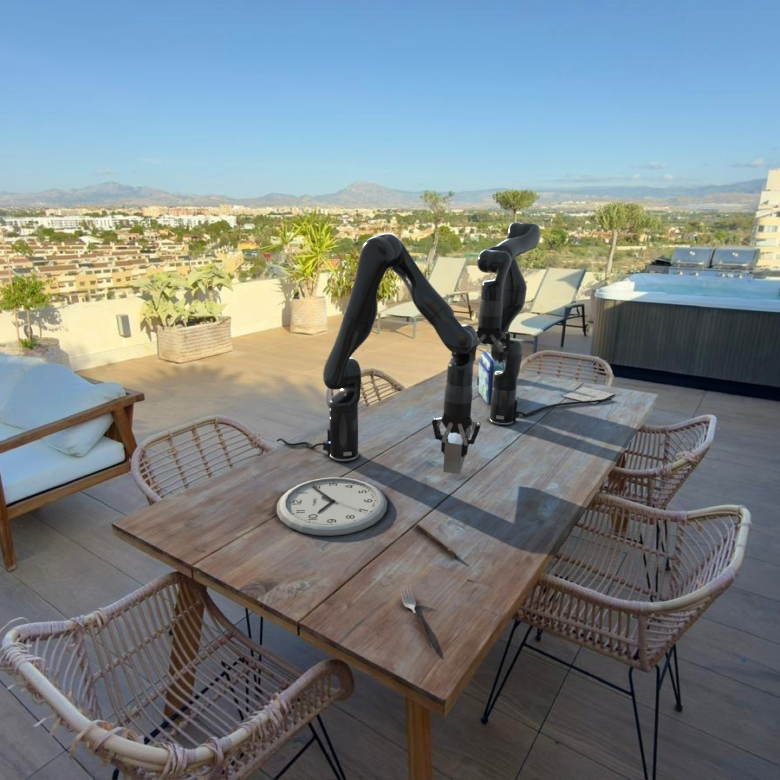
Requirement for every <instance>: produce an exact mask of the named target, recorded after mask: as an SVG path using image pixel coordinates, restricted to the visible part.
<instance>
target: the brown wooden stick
mask: <svg viewBox="0 0 780 780" xmlns="http://www.w3.org/2000/svg"><path fill="white" fill-rule="evenodd" d="M415 528H416V529H417V530H418V531H419V532H420V533H422V534H423V535H425V536H426V537H427V538H428V539H430V540H431V541H432V542H434V543H435V544H436V545H437V546H439V547H440V548H441V549H442V550H444V551H445V552H446V553H447V554H449V556H451V557H453V559H456V557H457V554H456V552H454V551H453V550H452V549H450V548H449V547H448V546H446V545H445V544H444V543H442V541H440V540H439V539H437V538H436V537H435V536H434V535H433V534H431V532H428V531H427V530H426V529H425V528H423V527H422V526H421V525H420V524H416V527H415Z"/></svg>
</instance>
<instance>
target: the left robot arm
mask: <svg viewBox="0 0 780 780" xmlns="http://www.w3.org/2000/svg"><path fill="white" fill-rule="evenodd" d="M388 270H391V271H393V272H394V273H395V274H396V275H397V276H398V278H400V280H401V281H402V282H403V284H404V285H405V287H406V289H407V291H408V293H409V296H410V299H411V300H412V303H413V305H414V307H415V308H416V310H417V311H418V312H419V313H420V315H422V316H423V318H425V320H426V321H427V322H428V324H430V326H432V327H433V329H434V331H435V332H436V334H437V335H438V337H439V339H440V340H441V343H443V345H444V346H445V347H446V349H448V350H449V352H451V355H450V360H449V362H448V364H447V369H446V378H445V380H446V382H445V387H444V399H443V414H442V416H441V417H437V416H434V417H433V418H432V420H431V424H432V429H433V433H434V438H435V440H437V441H438V440H439V441H440V442H441V444H440V445H441V448H440V451H441V453H442V454H443V455H444V454H445V442H446V440H447V437H448V435H449V433H457V434H460V435H461V438H462V441H463V446H462V457H464V456H465V455H466V456H467V455H468V451H469V450H468V449H469V446H470V445H475V442H476V439H477V437H478V434H479V432H480V429H481V427H482V423H481V422H476V421H473V420H472V419H471V417H472V416H471V415H472V403H473V379H474V378H473V377H474V364H475V361H474V359H475V355H476V354H477V349H478V346H477V342H478V339H479V338H478V337H477V333H476V331H477V330H476V329H475V328H474V327H473V326H472V325H470V324H461V323H460V322H459V320H458V319H457V318H456V316H455V311H454V309H453V308H452V306H451V305H449V303H448V302H447V301H446V300H445V299H444V297H443V296H442V295H441V294H440V293H439V292H438V291H437V290H436V288H434V287H433V285H432V283H430V281H429V280H428V278H427V277H426V276H425V275H424V273H423V271H421V269H420V268H419V266H418V264H417V263H416V262H415V260H414V258H413V257H412V256H411V254H410V252H409V251H408V249H407V248H406V246H405V245H404V244H403V242H402V241H401V239H400V238H399V237H398V236H397V235H395V234H393V233H391V232H387V233H382V234H379V235H375V236H372V237H370V238H368V239H367V240H366V241H365V242H364V243H363V245H362V246H361V249H360V254H359V258H358V263H357V268H356V272H355V277H354V282H353V285H352V288H351V290H350V293H349V298H348V300H347V304H346V305H345V309H344V312H343V314H342V319H341V322H340V325H339V329H338V332H337V335H336V337H335V340H334V343H333V345H332V348H331V350H330V353H329V354H328V356H327V359H326V360H325V364H324V366H323V371H322V377H323V378H322V380H323V383H324V385H325V387H326V388H327V389H329V390H334V391H335V390H338V392H336V393H335V394H334V395H333V396H331V398H330V399H329V402H328V410H329V411H328V412H329V427H328V429H327V440H325V441H323V442H318V443H315V444H314V445H312V446H311V444H310V443H309V442H307V441H300V442H296V443H291V442H288V441H286V440H285V439H284V438H277V439H276V442H279V441H281V442H283V443H284V444H285V445H287V446H290V447H294V446H295V447H296V446H299V445H300V446H301V445H307V446H308V448H309V449H314V448H316V447H319V446H322V450H323V451H325V452H327V457H329V458H330V460H332V461H334V462H338V463H350V462H353V461H356V460H357V459H358V458H359V403H360V399H361V389H362V387H361V386H362V369H361V366H360V363H359V362H358V360H357V359H355V358H354V357H352V355H353V354H354V353H355V352H356V351H357V350H358V348H359V347H361V345H363V343H364V342H365V341H366V340H367V339H368V338H369V336H370V335H371V333H372V331H373V328H374V326H375V323H376V319H377V318H378V317H377V316H378V310H379V306H378V304H379V303H378V290H379V287H380V285H381V282H382V280H383V278H384V276H385V274H386V272H387V271H388ZM476 356H477V355H476ZM475 360H476V359H475ZM441 423H442V425H443V426H444V428H445V431H444V433H443V434H442V432H441V427H440V425H441ZM470 425H471V431H473V432H472V435H471V436H470V438H468V436H467V428H468V427H469V426H470ZM468 445H469V446H468ZM466 456H465V457H466Z"/></svg>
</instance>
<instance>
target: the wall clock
mask: <svg viewBox="0 0 780 780" xmlns="http://www.w3.org/2000/svg"><path fill="white" fill-rule="evenodd" d="M387 509H388V500H387V498H386V496H385V494H384V493H383V492H382V491H381V490H380V489H379V488H377V487H376V486H374V485H372V484H371V483H369V482H365V481H362V480H359V479H355V478H349V477H338V476H337V477H335V476H333V477H332V476H331V477H322V478H317V479H312V480H307V481H305V482H302V483H299V484H297V485H295V486H293V487H292V488H290V489H288V490H287V491H286V492H285V493H284V494H283V495H281V496H280V498H279V499H278V502H277V503H276V515H277V517H278V518H279V520H280V521H281V522H282V523H283V524H285V525H286V526H287V527H288V528H290V529H293V530H295V531H297V532H299V533H303V534H308V535H312V536H327V537H328V536H329V537H331V536H332V537H333V536H342V535H350V534H352V533H356V532H361V531H363V530H366V529H368V528H369V527H372V526H373V525H375V524H376V523H378V522H379V521H380V520H381V519H382V518H383V517H384V516H385V514H386V512H387Z"/></svg>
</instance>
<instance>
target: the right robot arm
mask: <svg viewBox="0 0 780 780" xmlns="http://www.w3.org/2000/svg"><path fill="white" fill-rule="evenodd" d="M540 240H541V227H540V226H539V224H537V223H531V222H512V223H511V224H510V225H509V227H508V230H507V235H506V239H505V240H503V241H501V242H499V243H498V244H497V245H495V246H492V247H488V248H485V249H483V250H482V251H481V252H480V253H479V255H478V256H477V259H476V266H477V268H478V270H479V271H480V272H481V273H484V274H496V276H495V278H494V279H490V280H485V281H483V282H482V283H481V287H480V299H479V305H478V317H477V329H476V330H475V331H476V333H477V337H478V342H477V347H478V346H480V344H483V345H490V352H491V357H492V359H493V360H495V361H498V363H501V362H503V363H506V364H505V369H503V370H498V371H495V372H494V374H493V385H492V398H491V404H490V410H489V411H490V413H489V414H490V415H489V422H490V423H491V424H494V425H497V426H511V425H513V424H516V423H517V419H519V418H520V415H522V416H523V417H529V416H531V415H533V414H536V413H538V412H540V411H543V410H546V409H550V408H554V407H561V406H566V405H567V406H569V405H577V404H591V402H598V403H600V402H602V403H603V402H608V401H612V397H608V398H606V399H601V400H591V401H579V400H577V401H569V402H560V403H559V402H558V403H555V404H554V403H553V404H548V405H546V406H542V407H540V408H537V409H534V410H532V411H530V412H527V413H525V412H524V411H520V410H518V399H517V388H518V378H519V375H520V372H521V364H522V357H523V344H522V343H521V341H519V340H516V339H513V338H512V339H511V332H510V331H509V330H510V327H511V325H512V323H513V322H514V320H515V319H516V318H517V316H518V315H519V314H520V313H521V311H522V309H523V308H524V306H525V303H526V297H527V290H528V287H527V283H526V280H525V278H524V275H523V273H522V271H521V268H520V266H519V262H518V256H521V255H523V254H525V253H527V252H529V251H532V250H534V249H536V248H537V247H538V245H539V243H540ZM476 357H477V355H475V359H474V362H475V361H476V359H477V358H476Z"/></svg>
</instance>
